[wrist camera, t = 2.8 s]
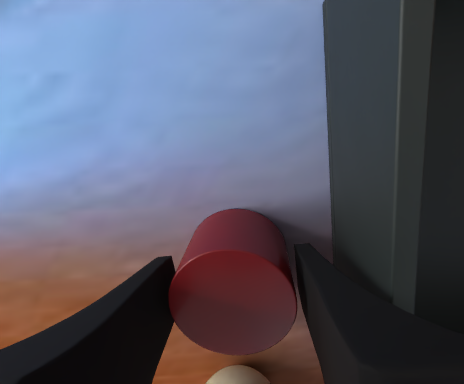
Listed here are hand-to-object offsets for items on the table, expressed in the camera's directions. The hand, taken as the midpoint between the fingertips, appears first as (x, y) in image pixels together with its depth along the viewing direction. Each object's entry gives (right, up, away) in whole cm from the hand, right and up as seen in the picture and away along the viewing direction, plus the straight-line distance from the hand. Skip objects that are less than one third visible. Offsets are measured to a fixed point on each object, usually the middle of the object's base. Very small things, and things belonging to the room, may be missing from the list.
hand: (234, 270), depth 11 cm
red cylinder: (0, 0, +1) cm, 2 cm away
